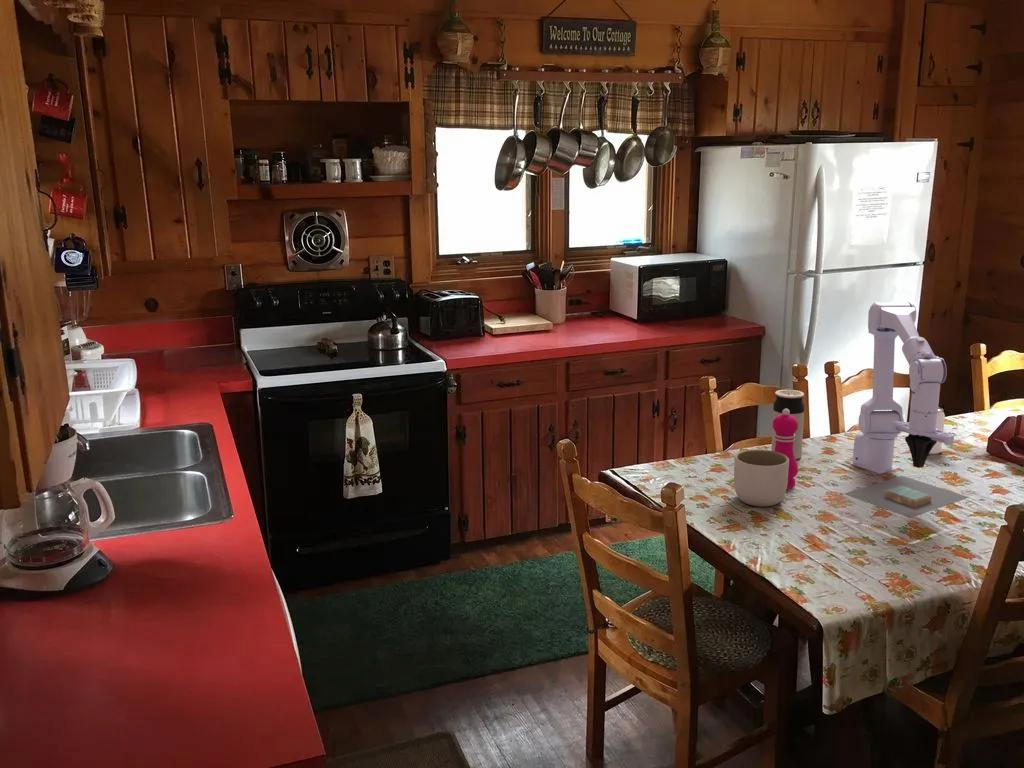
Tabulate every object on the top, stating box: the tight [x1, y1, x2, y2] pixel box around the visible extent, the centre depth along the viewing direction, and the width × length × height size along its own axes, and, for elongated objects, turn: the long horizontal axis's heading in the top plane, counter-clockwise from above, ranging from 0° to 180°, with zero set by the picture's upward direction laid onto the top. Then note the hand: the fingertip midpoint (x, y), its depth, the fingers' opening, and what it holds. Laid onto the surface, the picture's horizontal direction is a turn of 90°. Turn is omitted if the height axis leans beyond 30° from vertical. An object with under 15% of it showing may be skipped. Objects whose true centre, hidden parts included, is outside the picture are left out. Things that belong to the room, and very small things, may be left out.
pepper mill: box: [772, 409, 799, 489], centre depth 219 cm, size 7×7×20 cm
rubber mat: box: [843, 475, 970, 519], centre depth 212 cm, size 18×22×1 cm
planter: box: [733, 448, 789, 508], centre depth 211 cm, size 12×12×11 cm
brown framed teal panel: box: [885, 486, 931, 508], centre depth 209 cm, size 2×6×8 cm
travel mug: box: [770, 389, 805, 460], centre depth 240 cm, size 8×8×18 cm
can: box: [928, 407, 946, 455], centre depth 243 cm, size 6×6×12 cm
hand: (918, 466), depth 205 cm, fingers closed
